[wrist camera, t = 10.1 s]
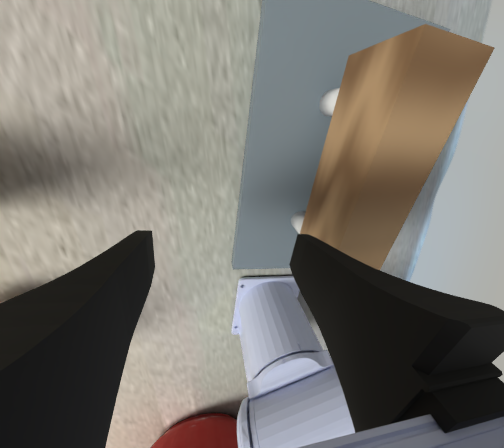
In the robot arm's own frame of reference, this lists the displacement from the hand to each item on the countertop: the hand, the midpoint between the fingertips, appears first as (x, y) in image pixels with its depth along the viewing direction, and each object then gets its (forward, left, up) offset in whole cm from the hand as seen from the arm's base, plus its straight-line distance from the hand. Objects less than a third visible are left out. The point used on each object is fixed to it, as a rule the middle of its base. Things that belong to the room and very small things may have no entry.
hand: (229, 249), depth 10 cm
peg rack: (+3, -9, -9) cm, 13 cm away
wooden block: (+3, -9, -6) cm, 11 cm away
